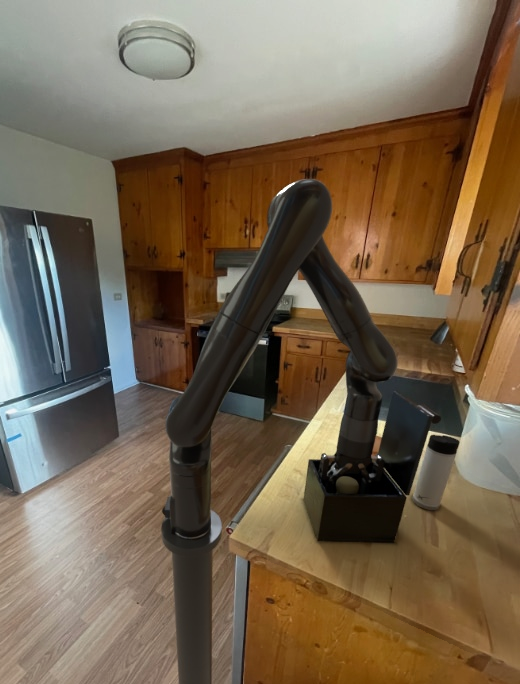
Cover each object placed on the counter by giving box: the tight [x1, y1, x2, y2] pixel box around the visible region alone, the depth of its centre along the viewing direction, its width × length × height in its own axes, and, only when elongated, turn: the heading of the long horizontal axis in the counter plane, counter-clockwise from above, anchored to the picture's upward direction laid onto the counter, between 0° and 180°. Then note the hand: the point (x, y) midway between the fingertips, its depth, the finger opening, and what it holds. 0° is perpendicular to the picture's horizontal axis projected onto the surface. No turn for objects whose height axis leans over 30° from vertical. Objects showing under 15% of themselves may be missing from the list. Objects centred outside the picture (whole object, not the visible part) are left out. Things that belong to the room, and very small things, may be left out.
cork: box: [336, 476, 359, 494], centre depth 80 cm, size 6×6×11 cm
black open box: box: [302, 458, 408, 544], centre depth 80 cm, size 18×15×13 cm
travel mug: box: [412, 434, 461, 511], centre depth 85 cm, size 6×7×20 cm
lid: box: [378, 390, 442, 496], centre depth 73 cm, size 19×15×6 cm
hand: (345, 493), depth 79 cm, fingers open, 7 cm apart
